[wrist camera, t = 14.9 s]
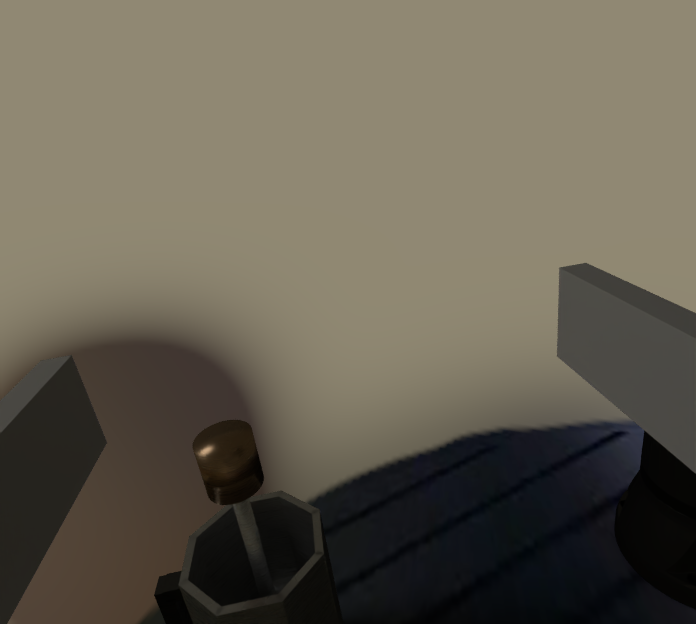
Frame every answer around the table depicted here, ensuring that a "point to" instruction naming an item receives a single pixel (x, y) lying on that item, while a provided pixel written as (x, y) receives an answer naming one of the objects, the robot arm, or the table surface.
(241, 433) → the plunger
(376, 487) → the table surface
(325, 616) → the press pot
